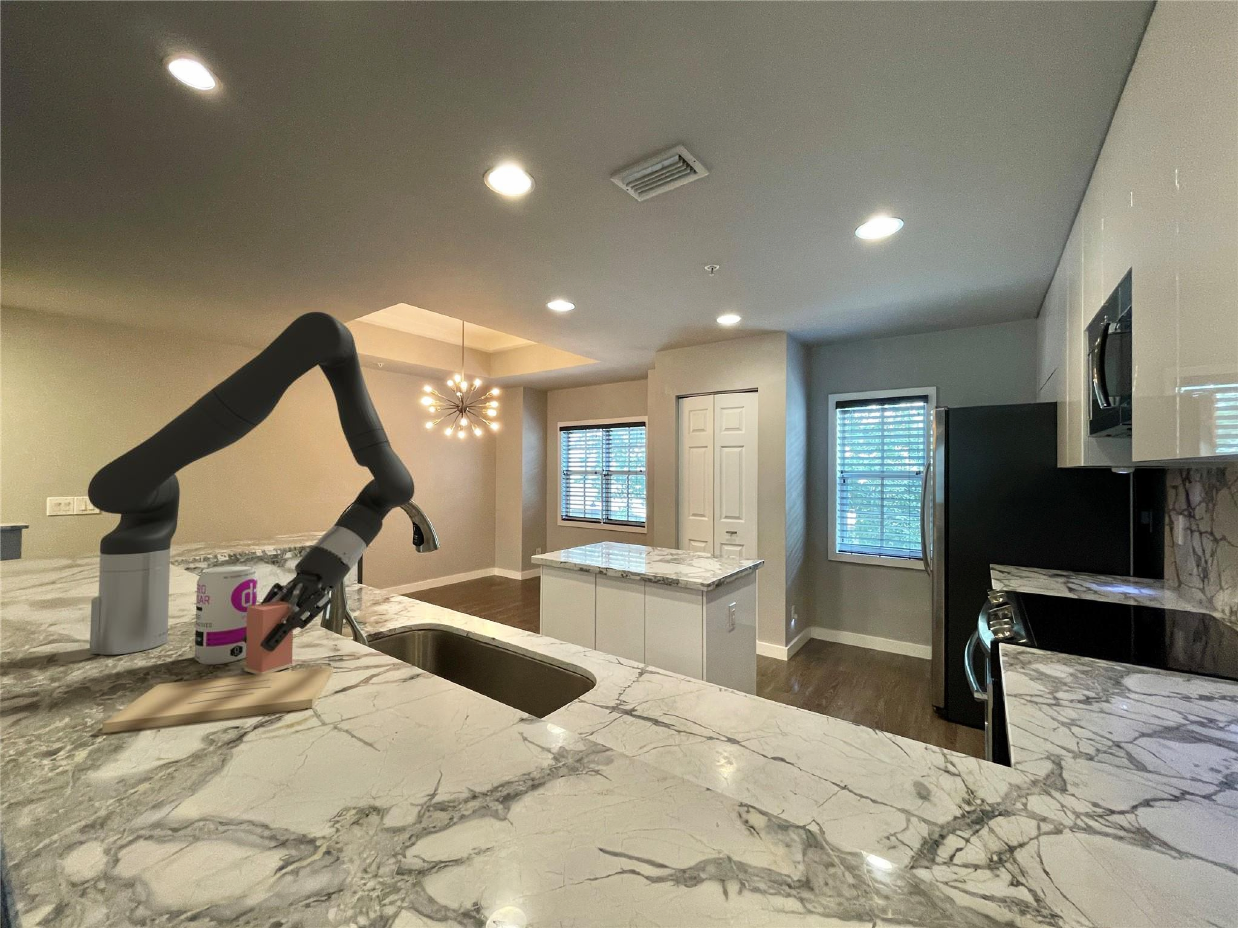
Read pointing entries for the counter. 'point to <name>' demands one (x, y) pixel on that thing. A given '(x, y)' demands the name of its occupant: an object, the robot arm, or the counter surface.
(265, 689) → the oak board
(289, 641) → the block
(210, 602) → the supplement can
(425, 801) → the counter surface
